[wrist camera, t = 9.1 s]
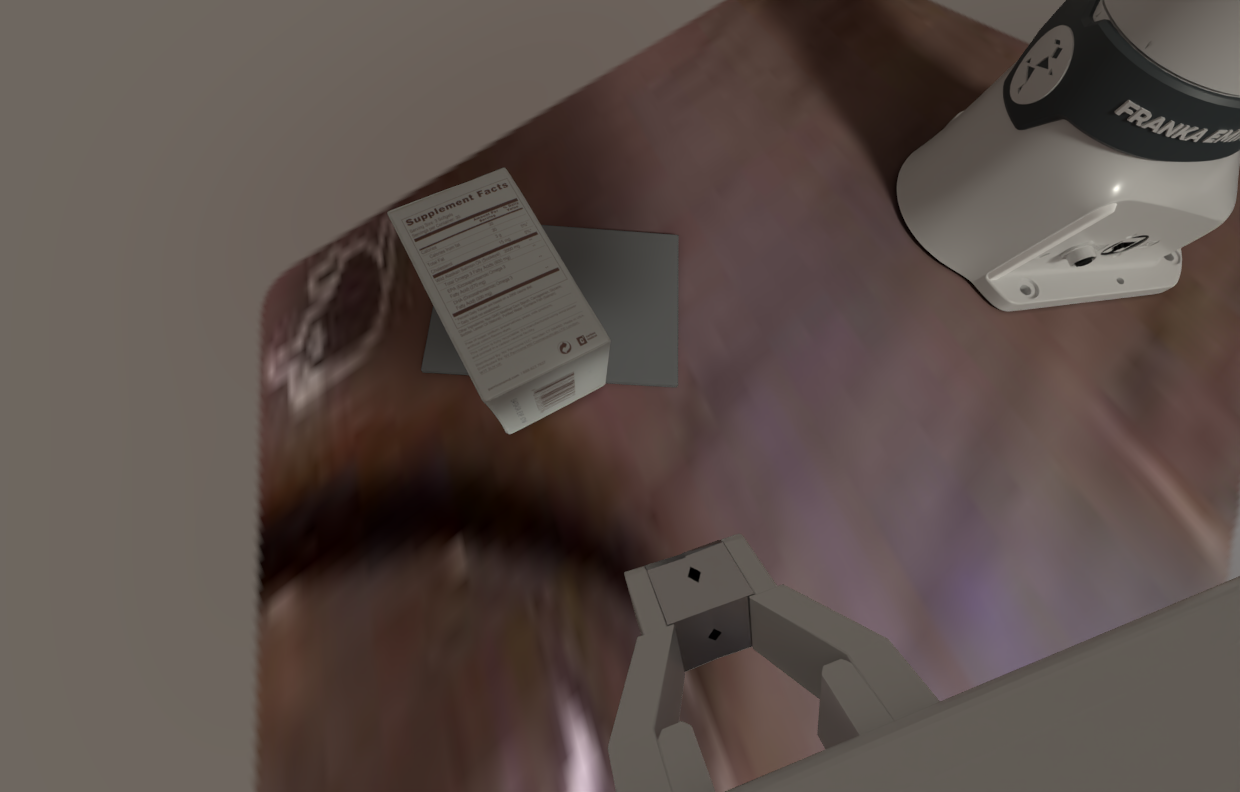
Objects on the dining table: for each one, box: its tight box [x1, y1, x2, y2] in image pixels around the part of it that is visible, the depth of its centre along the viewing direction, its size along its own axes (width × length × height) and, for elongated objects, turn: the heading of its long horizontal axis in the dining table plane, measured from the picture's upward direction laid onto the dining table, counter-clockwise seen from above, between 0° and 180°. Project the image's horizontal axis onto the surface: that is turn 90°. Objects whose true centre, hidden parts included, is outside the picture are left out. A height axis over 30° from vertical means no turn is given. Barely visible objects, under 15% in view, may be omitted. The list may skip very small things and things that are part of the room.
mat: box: [421, 225, 678, 387], centre depth 32 cm, size 17×12×1 cm
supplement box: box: [387, 168, 611, 434], centre depth 27 cm, size 7×7×13 cm
